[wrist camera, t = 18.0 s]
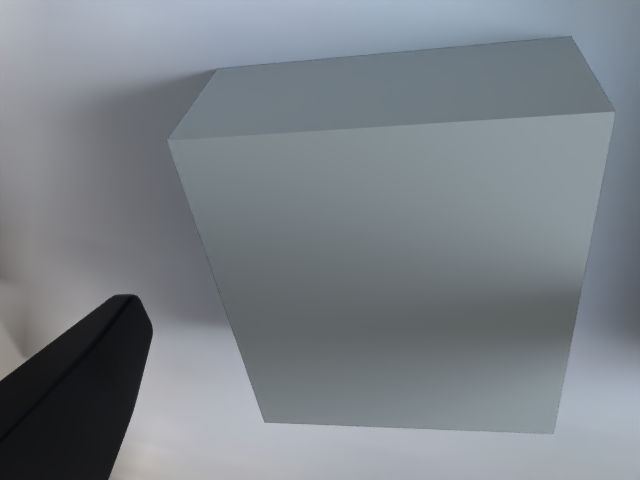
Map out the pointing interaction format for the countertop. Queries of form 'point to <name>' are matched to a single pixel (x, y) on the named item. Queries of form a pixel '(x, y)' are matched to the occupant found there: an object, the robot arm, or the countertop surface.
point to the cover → (401, 229)
